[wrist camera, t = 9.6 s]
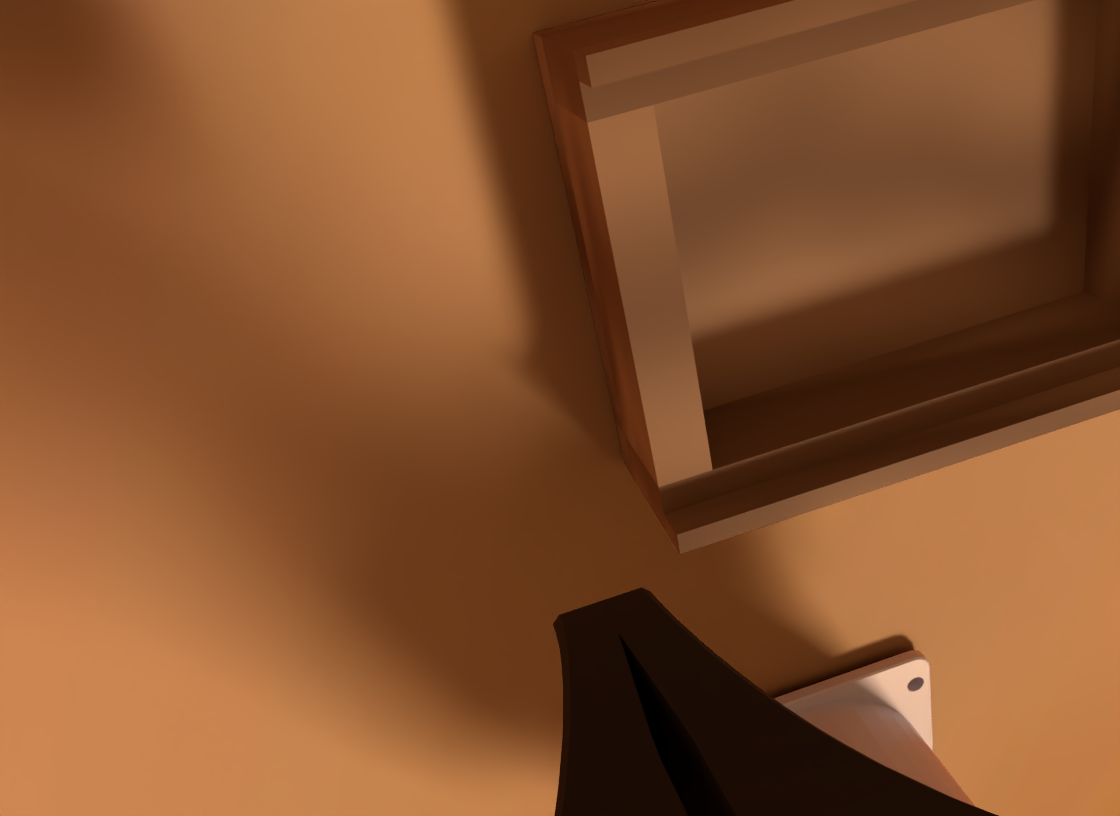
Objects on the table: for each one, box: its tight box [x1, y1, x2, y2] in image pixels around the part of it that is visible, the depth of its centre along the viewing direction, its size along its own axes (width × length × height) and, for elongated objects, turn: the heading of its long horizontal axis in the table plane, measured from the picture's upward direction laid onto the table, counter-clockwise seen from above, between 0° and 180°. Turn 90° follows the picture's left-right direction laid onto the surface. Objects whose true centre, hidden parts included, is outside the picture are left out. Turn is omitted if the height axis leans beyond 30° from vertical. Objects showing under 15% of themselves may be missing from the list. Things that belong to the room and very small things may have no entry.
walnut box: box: [533, 0, 1120, 554], centre depth 20 cm, size 10×13×4 cm
